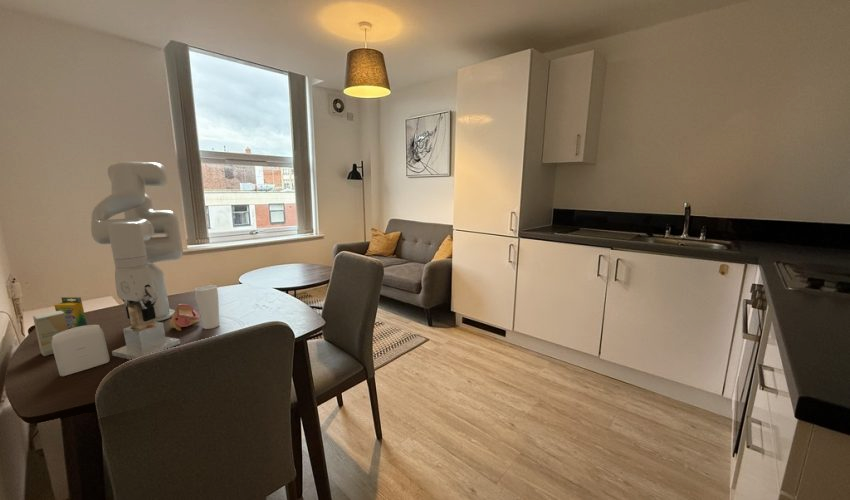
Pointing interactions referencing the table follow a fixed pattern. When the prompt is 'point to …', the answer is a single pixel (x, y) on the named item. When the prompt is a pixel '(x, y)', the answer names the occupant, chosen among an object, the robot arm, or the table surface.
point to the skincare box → (49, 329)
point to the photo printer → (79, 349)
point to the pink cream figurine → (184, 316)
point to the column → (138, 316)
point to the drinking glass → (208, 305)
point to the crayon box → (72, 312)
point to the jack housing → (144, 341)
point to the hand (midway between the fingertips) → (141, 318)
